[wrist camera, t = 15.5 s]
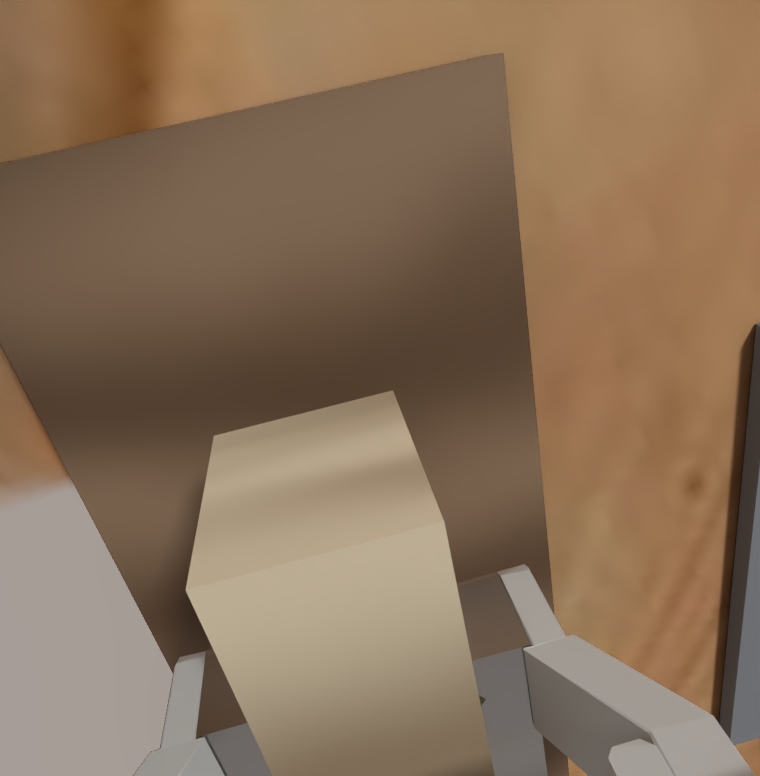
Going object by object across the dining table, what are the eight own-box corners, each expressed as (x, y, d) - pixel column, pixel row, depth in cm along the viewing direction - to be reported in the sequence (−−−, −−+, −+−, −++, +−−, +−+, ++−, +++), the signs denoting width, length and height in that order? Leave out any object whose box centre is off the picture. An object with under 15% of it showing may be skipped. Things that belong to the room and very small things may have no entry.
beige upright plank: (123, 458, 10) (51, 625, 7) (480, 368, 10) (569, 489, 7) (328, 897, 16) (341, 1088, 13) (547, 833, 17) (611, 1006, 13)
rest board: (-55, 175, 11) (-85, 183, 10) (485, 55, 12) (502, 52, 11) (277, 838, 21) (277, 872, 20) (557, 759, 22) (570, 788, 21)
